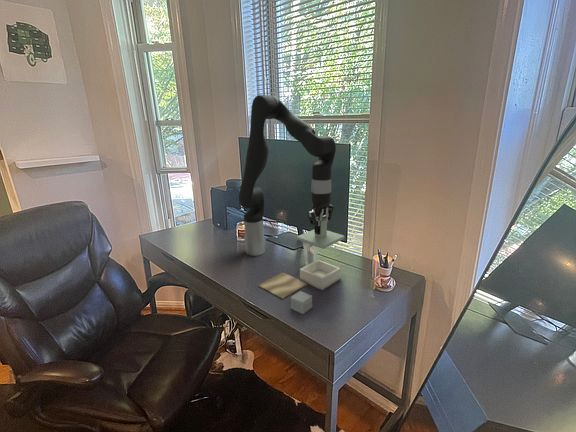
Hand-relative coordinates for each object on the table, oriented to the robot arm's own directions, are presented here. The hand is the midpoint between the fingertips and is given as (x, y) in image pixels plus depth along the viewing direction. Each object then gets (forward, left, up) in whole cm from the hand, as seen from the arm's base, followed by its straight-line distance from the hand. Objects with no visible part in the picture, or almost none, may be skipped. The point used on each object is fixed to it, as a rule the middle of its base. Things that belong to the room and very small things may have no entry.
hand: (320, 232), depth 125 cm
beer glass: (-11, +7, -21) cm, 25 cm away
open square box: (0, 0, -21) cm, 21 cm away
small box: (+8, -20, -21) cm, 30 cm away
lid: (0, 0, -3) cm, 3 cm away
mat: (-8, -14, -21) cm, 26 cm away
